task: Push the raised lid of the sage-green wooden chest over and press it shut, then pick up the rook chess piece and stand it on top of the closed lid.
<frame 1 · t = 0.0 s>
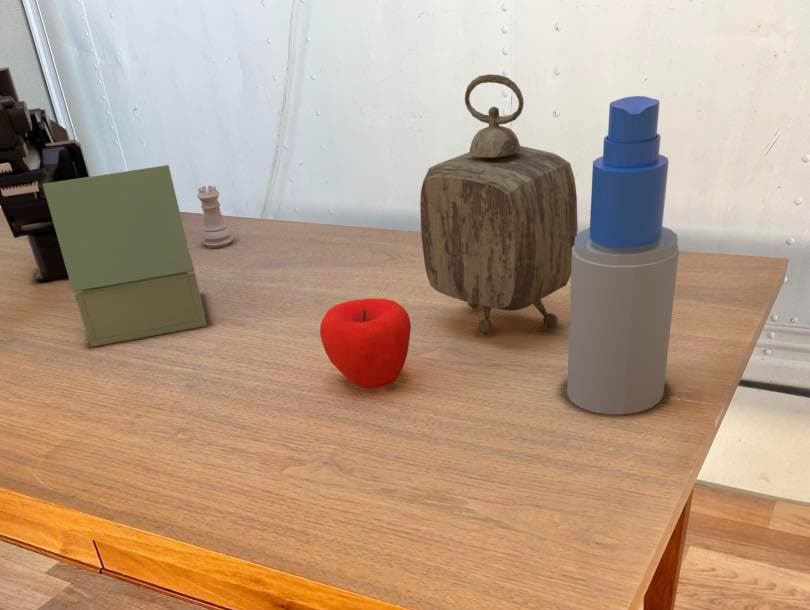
rook chess piece: (219, 244, 127), on the table
chest: (148, 320, 105), on the table
chest lid: (120, 228, 95), point 12 cm above the table, hinge at 70.0°
apple: (372, 383, 87), on the table
spray bottle: (614, 393, 80), on the table
tabletop clock: (496, 328, 95), on the table
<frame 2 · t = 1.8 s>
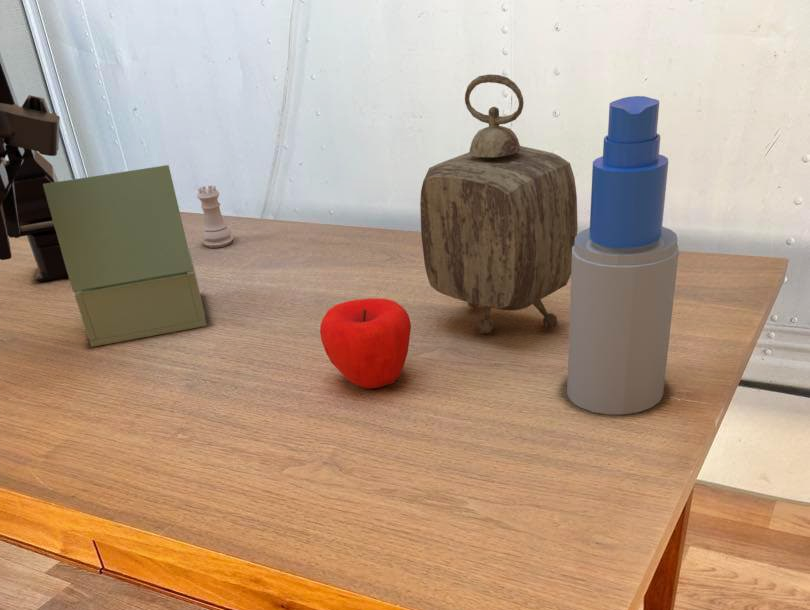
hand: (10, 247, 89), 13 cm above the table, tool pointing down, fingers open, 8 cm apart
nothing on the table moved.
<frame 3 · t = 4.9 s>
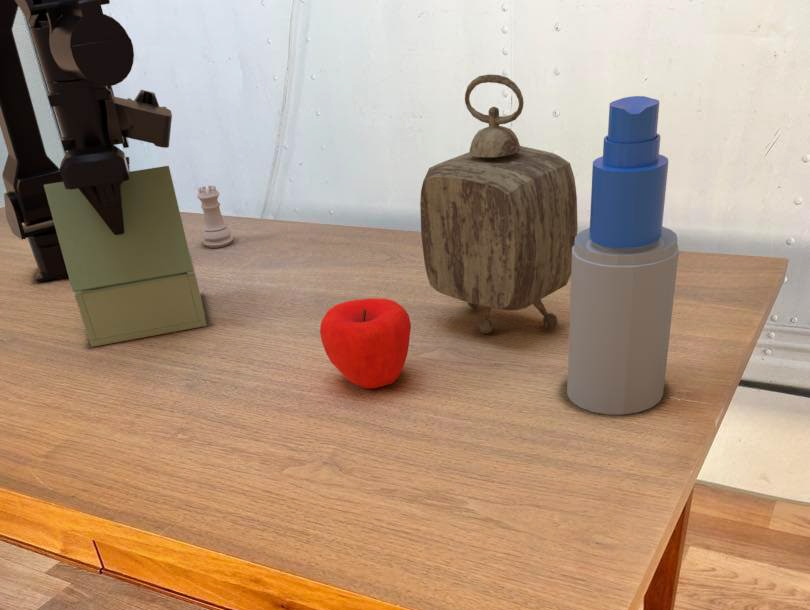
hand: (119, 233, 94), 12 cm above the table, tool pointing down, fingers closed
chest lid: (120, 229, 95), point 12 cm above the table, hinge at 67.0°, touching gripper
everything else where it was.
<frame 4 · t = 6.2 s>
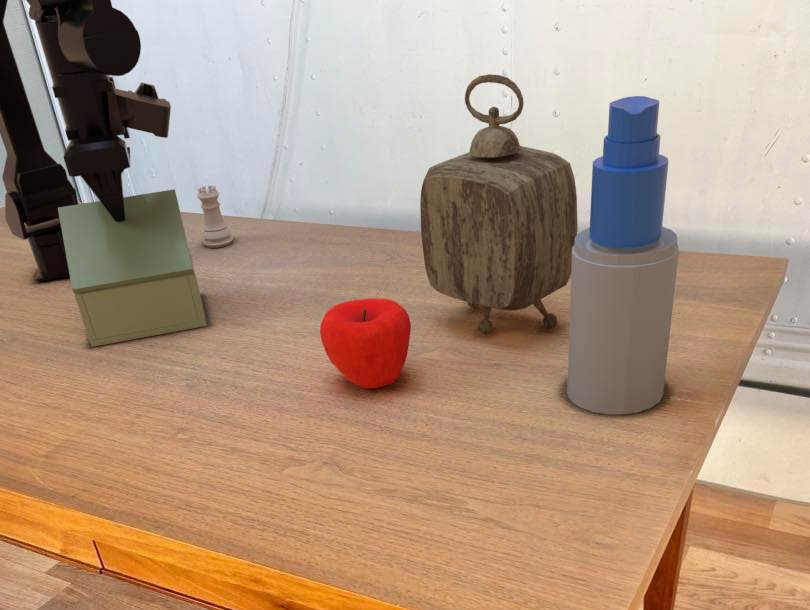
hand: (120, 220, 98), 12 cm above the table, tool pointing down, fingers closed
chest lid: (125, 240, 98), point 10 cm above the table, hinge at 35.7°
everything else where it was.
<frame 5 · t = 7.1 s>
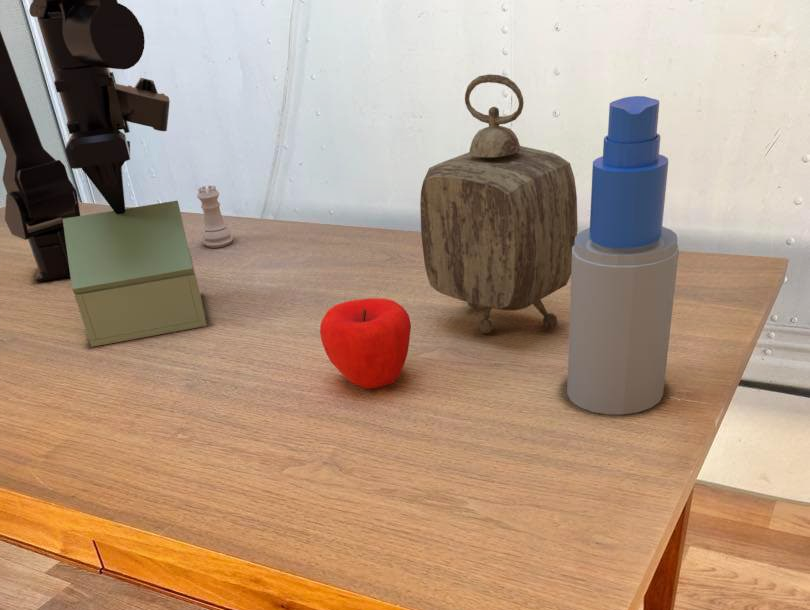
hand: (120, 213, 101), 12 cm above the table, tool pointing down, fingers closed
chest lid: (127, 245, 99), point 9 cm above the table, hinge at 26.5°, touching gripper
everything else where it was.
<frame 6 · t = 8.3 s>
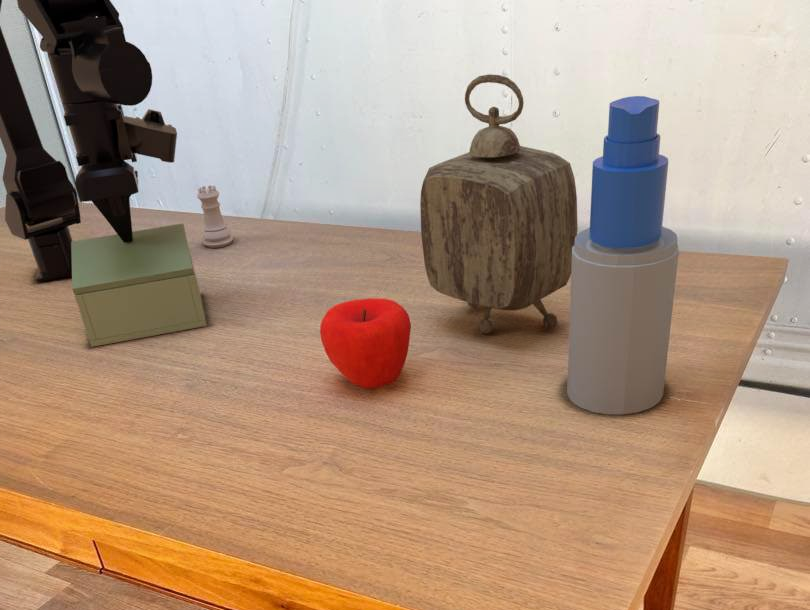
hand: (128, 241, 102), 9 cm above the table, tool pointing down, fingers closed
chest lid: (131, 257, 100), point 8 cm above the table, hinge at 10.1°, touching gripper
everything else where it was.
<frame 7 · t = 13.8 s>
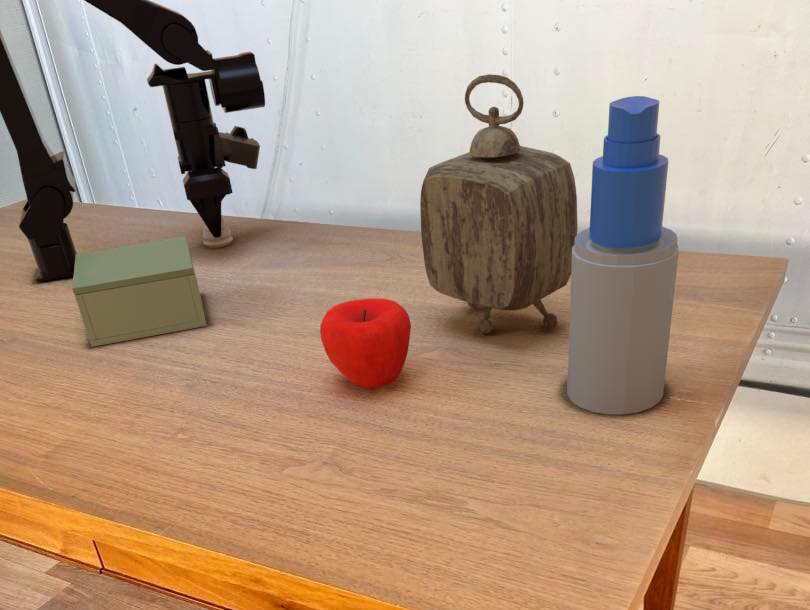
hand: (216, 232, 126), 2 cm above the table, tool pointing down, fingers closed on rook chess piece, 4 cm apart
rook chess piece: (219, 244, 127), on the table, touching gripper
chest lid: (133, 264, 101), point 7 cm above the table, hinge at 1.9°
everything else where it was.
when the fingers open (9 cm above the table, at t = 18.4 s): rook chess piece stays where it is, resting on chest lid.
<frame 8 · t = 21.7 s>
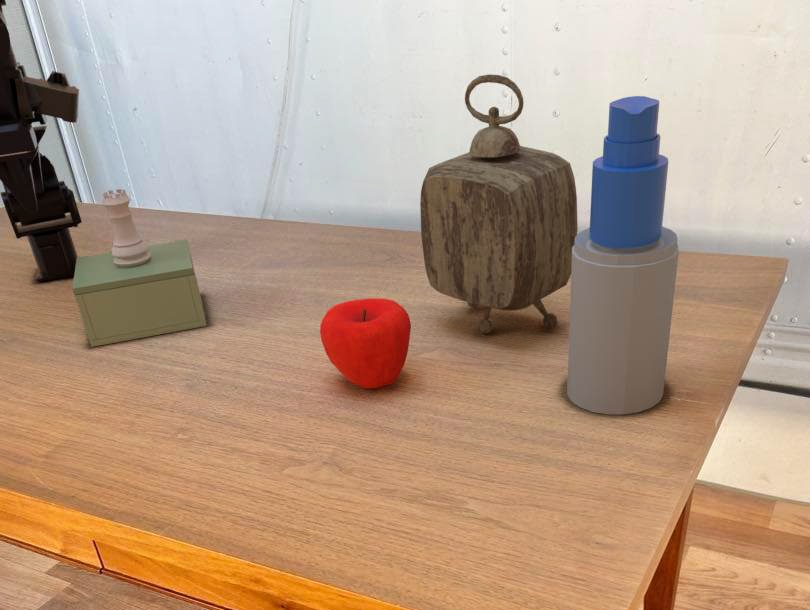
hand: (36, 202, 104), 13 cm above the table, tool pointing down, fingers open, 9 cm apart
rook chess piece: (133, 263, 101), point 7 cm above the table, touching chest lid
chest lid: (133, 265, 101), point 7 cm above the table, hinge at -0.3°, touching chest, rook chess piece
everything else where it was.
at the end: chest lid at +0° (first picture: +70°); rook chess piece inside the target area on the chest (0.6 cm from its centre), point 6.9 cm above the chest's base; rook chess piece tilted 0° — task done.
